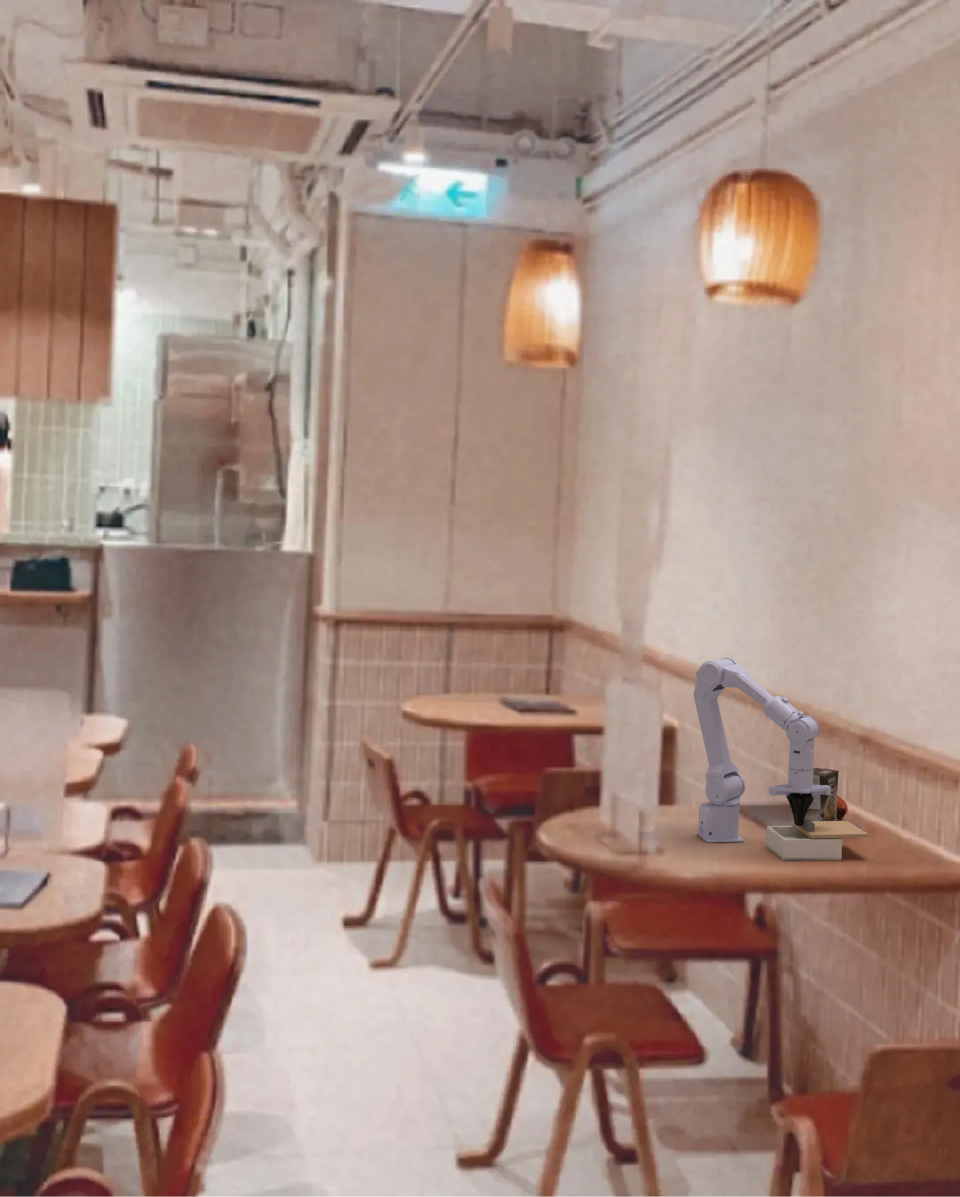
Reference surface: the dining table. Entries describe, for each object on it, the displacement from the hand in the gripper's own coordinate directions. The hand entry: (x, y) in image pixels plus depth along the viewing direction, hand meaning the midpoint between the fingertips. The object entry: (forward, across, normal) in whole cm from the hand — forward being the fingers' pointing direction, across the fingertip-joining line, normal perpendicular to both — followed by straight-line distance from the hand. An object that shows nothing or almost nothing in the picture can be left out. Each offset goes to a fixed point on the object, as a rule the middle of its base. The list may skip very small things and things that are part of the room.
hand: (798, 824), depth 324 cm
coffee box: (+7, +11, +16) cm, 21 cm away
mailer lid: (+2, +8, 0) cm, 8 cm away
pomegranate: (+7, +20, +28) cm, 35 cm away
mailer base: (+7, +2, 0) cm, 7 cm away
